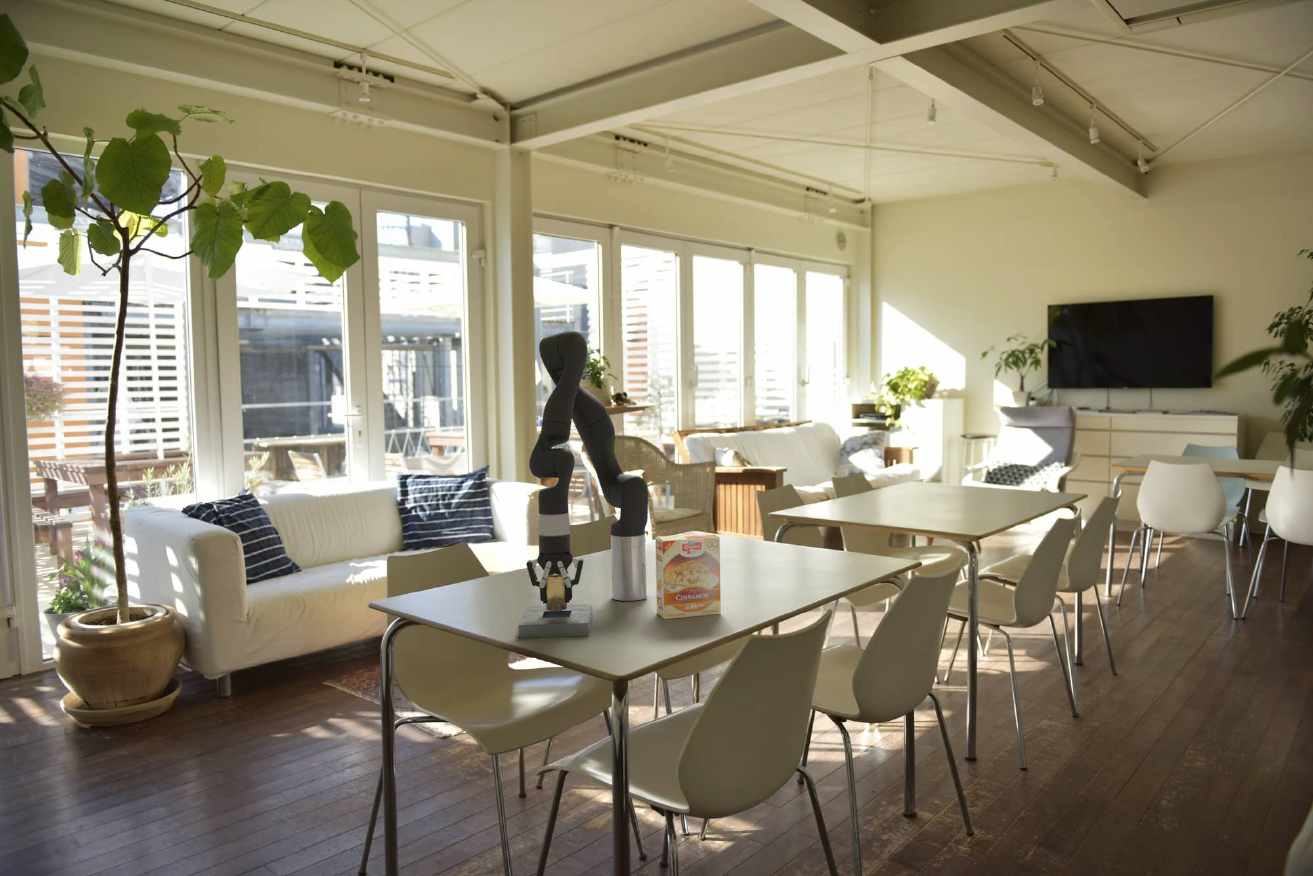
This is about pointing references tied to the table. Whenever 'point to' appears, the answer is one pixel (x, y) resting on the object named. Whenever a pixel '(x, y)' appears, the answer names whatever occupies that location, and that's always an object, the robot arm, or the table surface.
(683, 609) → the coffeecake box
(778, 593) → the table surface
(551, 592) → the short tan cylinder
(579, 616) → the block
